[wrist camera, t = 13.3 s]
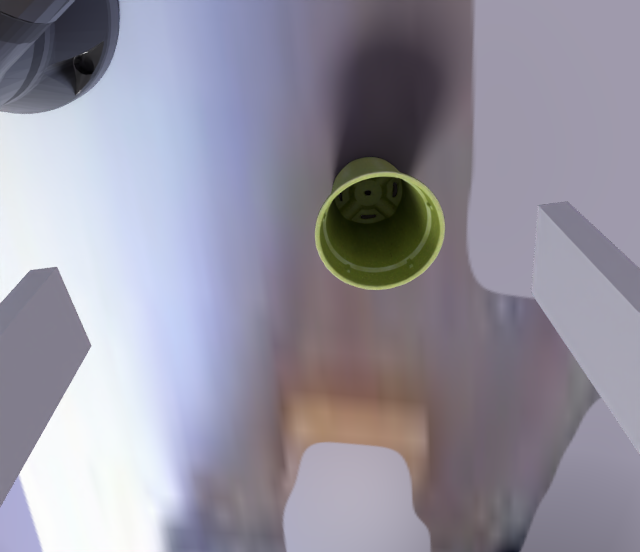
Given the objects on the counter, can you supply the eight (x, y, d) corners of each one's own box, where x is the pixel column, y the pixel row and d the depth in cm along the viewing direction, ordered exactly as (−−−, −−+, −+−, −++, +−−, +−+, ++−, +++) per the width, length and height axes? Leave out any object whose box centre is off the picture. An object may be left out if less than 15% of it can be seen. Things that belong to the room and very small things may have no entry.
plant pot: (422, 130, 44) (445, 164, 36) (423, 234, 49) (444, 284, 41) (308, 142, 44) (307, 179, 37) (320, 244, 49) (322, 296, 41)
